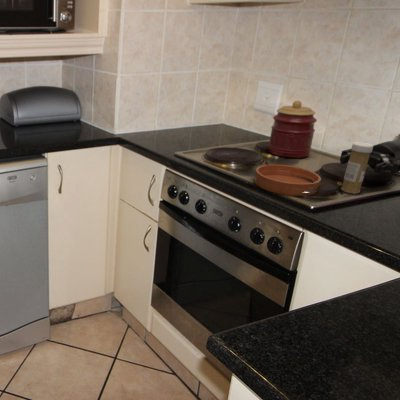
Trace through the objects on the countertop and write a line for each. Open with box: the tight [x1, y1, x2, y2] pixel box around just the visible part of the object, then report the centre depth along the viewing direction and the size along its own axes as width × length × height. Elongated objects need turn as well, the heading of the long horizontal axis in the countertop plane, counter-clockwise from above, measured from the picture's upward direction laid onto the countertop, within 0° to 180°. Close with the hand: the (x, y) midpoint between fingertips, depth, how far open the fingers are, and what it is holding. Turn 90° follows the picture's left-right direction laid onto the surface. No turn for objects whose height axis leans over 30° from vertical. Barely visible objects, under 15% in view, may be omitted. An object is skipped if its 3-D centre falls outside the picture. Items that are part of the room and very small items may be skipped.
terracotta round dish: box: [253, 164, 322, 197], centre depth 133 cm, size 16×16×4 cm
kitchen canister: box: [267, 100, 318, 158], centre depth 159 cm, size 13×13×18 cm
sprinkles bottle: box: [340, 141, 374, 195], centre depth 127 cm, size 5×5×14 cm
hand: (359, 164), depth 128 cm, fingers open, 8 cm apart
